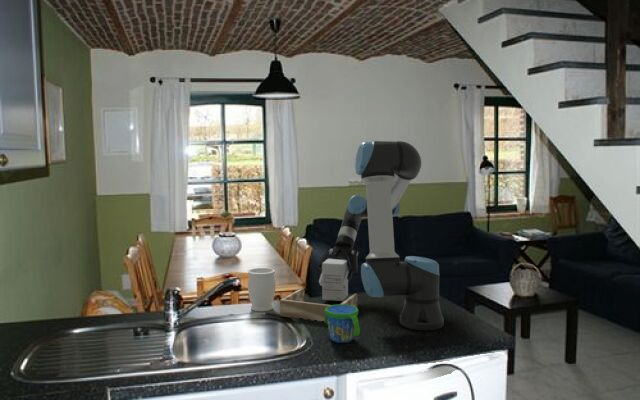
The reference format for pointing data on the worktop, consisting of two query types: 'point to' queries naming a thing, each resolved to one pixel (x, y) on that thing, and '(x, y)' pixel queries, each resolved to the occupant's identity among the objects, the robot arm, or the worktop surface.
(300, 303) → the wooden u-shaped frame
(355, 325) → the snack cup
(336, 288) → the supplement box
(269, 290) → the jar
